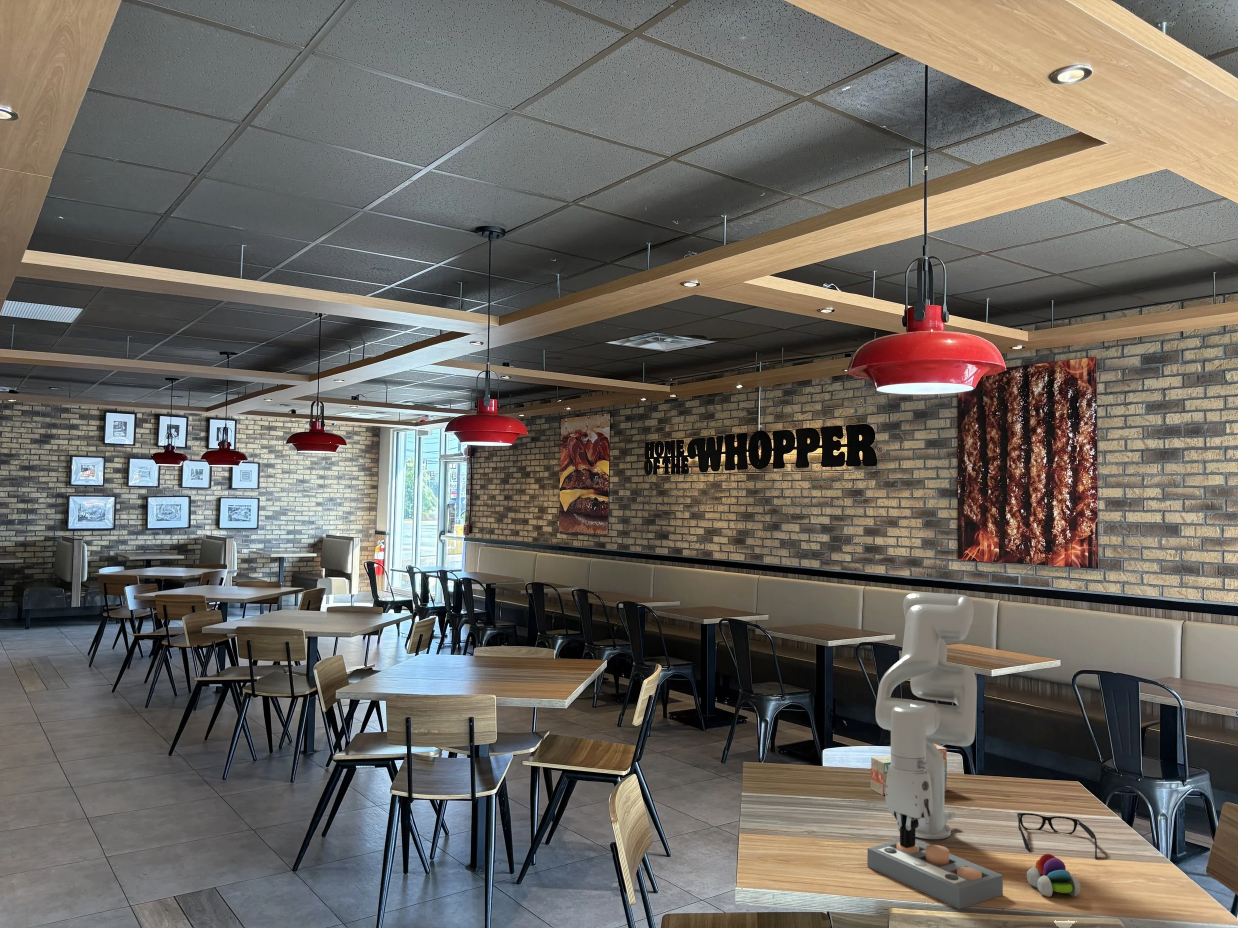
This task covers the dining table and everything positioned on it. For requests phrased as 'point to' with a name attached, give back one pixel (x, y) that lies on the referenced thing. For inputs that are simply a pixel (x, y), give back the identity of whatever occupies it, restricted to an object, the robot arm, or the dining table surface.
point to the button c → (969, 873)
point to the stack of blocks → (882, 764)
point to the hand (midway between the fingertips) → (907, 845)
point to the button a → (908, 850)
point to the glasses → (1053, 827)
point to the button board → (935, 875)
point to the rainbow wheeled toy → (1052, 877)
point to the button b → (937, 855)
